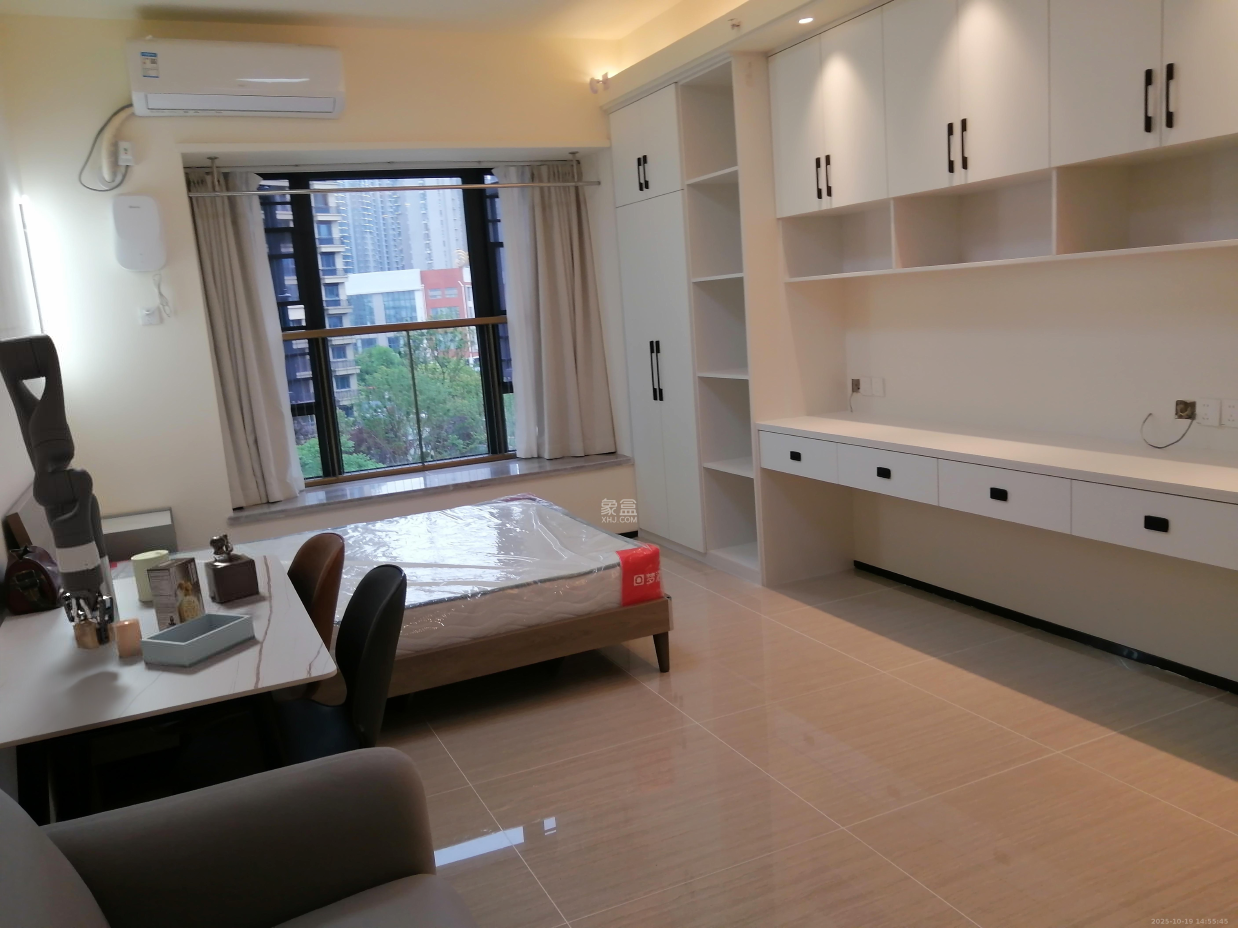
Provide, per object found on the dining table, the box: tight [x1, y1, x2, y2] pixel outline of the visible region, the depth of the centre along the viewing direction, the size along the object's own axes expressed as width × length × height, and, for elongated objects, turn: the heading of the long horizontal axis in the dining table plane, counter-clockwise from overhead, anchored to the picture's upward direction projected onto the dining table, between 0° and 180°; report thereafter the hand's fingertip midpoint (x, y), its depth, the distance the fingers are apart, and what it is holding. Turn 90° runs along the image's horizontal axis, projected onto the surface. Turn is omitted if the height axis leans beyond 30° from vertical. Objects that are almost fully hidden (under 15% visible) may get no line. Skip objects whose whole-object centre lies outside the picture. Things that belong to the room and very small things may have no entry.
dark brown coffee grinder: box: [203, 533, 260, 604], centre depth 239 cm, size 16×11×18 cm
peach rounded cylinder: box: [113, 618, 143, 658], centre depth 204 cm, size 5×5×7 cm
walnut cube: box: [72, 617, 116, 651], centre depth 195 cm, size 5×5×5 cm
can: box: [130, 549, 170, 602], centre depth 250 cm, size 9×9×12 cm
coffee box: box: [147, 556, 207, 633], centre depth 217 cm, size 9×6×16 cm
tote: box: [140, 611, 256, 668], centre depth 201 cm, size 14×18×5 cm
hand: (95, 641), depth 195 cm, fingers closed on walnut cube, 5 cm apart
